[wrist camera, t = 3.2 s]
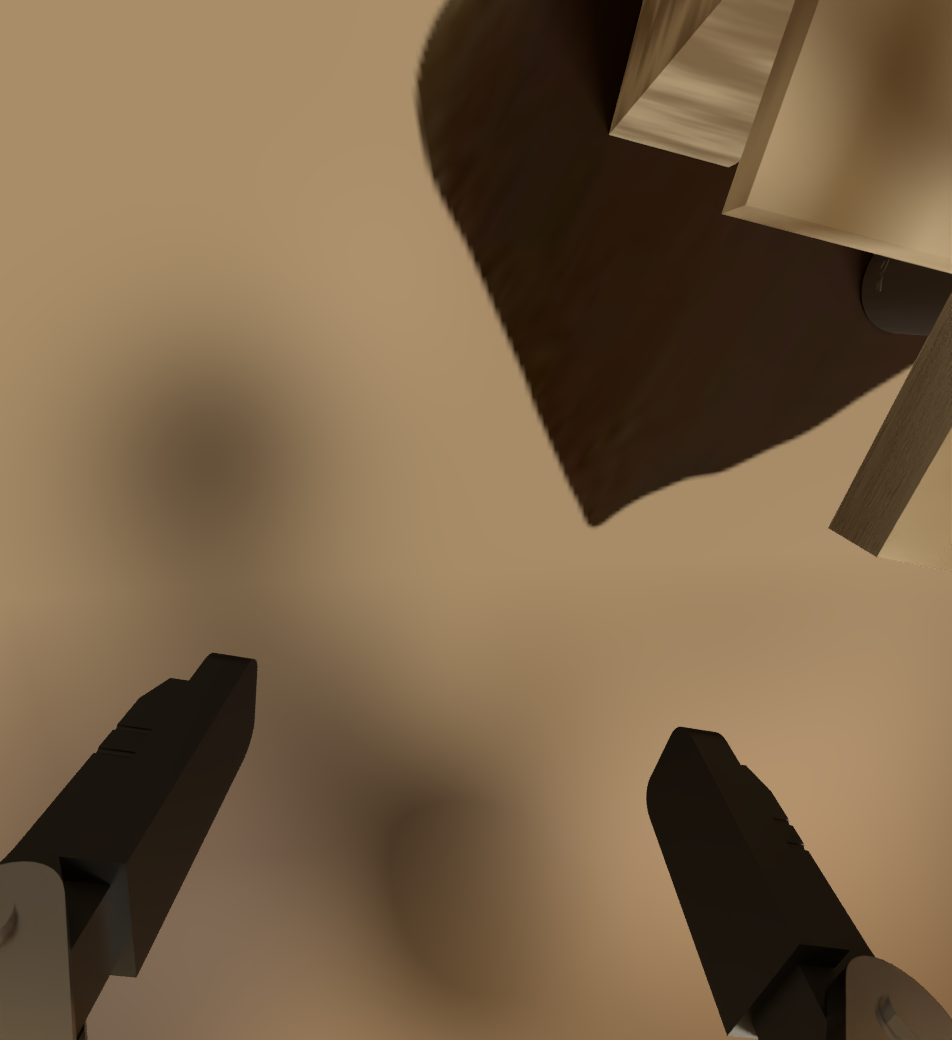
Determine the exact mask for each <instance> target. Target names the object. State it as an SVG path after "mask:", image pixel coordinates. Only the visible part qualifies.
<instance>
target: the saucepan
mask: <svg viewBox="0 0 952 1040" xmlns="http://www.w3.org/2000/svg"><path fill="white" fill-rule="evenodd" d="M829 529H831V530H832V531H834V532H836V533H837V534H839V535H841V536H843V537H844V538H846V539H847V540H849V541H851V542H852V543H854V544H856V545H857V546H859V547H861V548H862V549H864V550H866V551H867V552H869V553H871V554H872V555H874V556H876V557H878V558H884V559H889V560H894V561H900V562H905V563H910V564H915V565H920V566H925V567H931V568H936V569H941V570H946V571H951V572H952V292H951V294H950V296H949V298H948V300H947V302H946V304H945V306H944V308H943V310H942V311H941V313H940V315H939V317H938V319H937V321H936V323H935V325H934V327H933V329H932V331H931V332H930V334H929V336H928V338H927V340H926V342H925V344H924V346H923V348H922V350H921V352H920V353H919V355H918V357H917V359H916V361H915V363H914V365H913V367H912V369H911V371H910V373H909V375H908V377H907V378H906V380H905V382H904V384H903V386H902V388H901V390H900V392H899V394H898V396H897V398H896V399H895V401H894V403H893V405H892V407H891V409H890V411H889V413H888V415H887V417H886V419H885V420H884V422H883V424H882V426H881V428H880V430H879V432H878V434H877V436H876V438H875V440H874V441H873V443H872V445H871V447H870V449H869V451H868V453H867V455H866V457H865V459H864V461H863V462H862V465H861V466H860V468H859V470H858V472H857V474H856V476H855V478H854V480H853V481H852V483H851V485H850V488H849V489H848V491H847V493H846V495H845V497H844V499H843V501H842V502H841V505H840V507H839V508H838V510H837V512H836V514H835V516H834V518H833V520H832V522H831V523H830V526H829Z"/></svg>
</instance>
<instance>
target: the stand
mask: <svg viewBox="0 0 952 1040" xmlns="http://www.w3.org/2000/svg"><path fill="white" fill-rule="evenodd" d="M609 135H612V136H616V137H619V138H623V139H627V140H630V141H634V142H638V143H641V144H645V145H649V146H652V147H656V148H660V149H664V150H667V151H671V152H675V153H678V154H682V155H686V156H689V157H693V158H697V159H700V160H704V161H708V162H711V163H715V164H719V165H723V166H726V167H730V166H732V165H734V164H736V163H738V162H739V161H740V162H739V165H738V168H737V171H736V174H735V177H734V180H733V183H732V185H731V188H730V191H729V194H728V197H727V200H726V203H725V206H724V209H723V212H722V214H725V215H728V216H732V217H736V218H740V219H744V220H748V221H751V222H755V223H759V224H763V225H767V226H771V227H774V228H778V229H782V230H786V231H790V232H794V233H797V234H801V235H805V236H809V237H813V238H817V239H820V240H824V241H828V242H832V243H836V244H840V245H843V246H847V247H851V248H855V249H859V250H863V251H866V252H870V253H874V254H878V255H882V256H886V257H889V258H893V259H897V260H901V261H905V262H909V263H912V264H916V265H920V266H924V267H928V268H932V269H935V270H939V271H943V272H947V273H951V274H952V0H643V4H642V8H641V12H640V15H639V19H638V23H637V27H636V31H635V35H634V39H633V43H632V47H631V51H630V55H629V58H628V62H627V66H626V70H625V74H624V78H623V82H622V86H621V90H620V94H619V98H618V101H617V105H616V109H615V113H614V117H613V121H612V125H611V129H610V133H609Z"/></svg>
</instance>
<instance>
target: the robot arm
mask: <svg viewBox="0 0 952 1040" xmlns="http://www.w3.org/2000/svg"><path fill="white" fill-rule="evenodd" d="M951 292H952V274H951V273H947V272H943V271H939V270H935V269H932V268H928V267H924V266H920V265H916V264H912V263H909V262H905V261H901V260H897V259H893V258H889V257H886V256H882V255H878V254H874V255H873V257H872V258H871V260H870V262H869V264H868V266H867V269H866V272H865V275H864V278H863V284H862V303H863V307H864V311H865V313H866V315H867V316H868V318H869V320H870V321H871V322H872V323H873V324H874V325H875V326H876V327H878V328H880V329H882V330H883V331H886V332H891V333H896V334H914V335H929V334H930V332H931V331H932V329H933V327H934V325H935V323H936V321H937V319H938V317H939V315H940V313H941V311H942V310H943V308H944V306H945V304H946V302H947V300H948V298H949V296H950V294H951ZM256 684H257V661H256V660H255V659H251V658H244V657H238V656H231V655H225V654H218V653H211V654H209V655H208V656H207V657H206V659H205V660H204V661H203V663H202V664H201V665H200V667H199V668H198V669H197V671H196V672H195V673H194V675H193V676H192V677H191V679H190V680H189V681H187V680H180V679H174V678H170V679H168V680H167V681H165V682H163V683H162V684H160V685H159V686H157V687H156V688H154V689H153V690H151V691H150V692H148V693H146V694H145V695H143V696H142V697H140V698H139V699H138V700H137V702H136V703H135V704H134V705H133V707H132V708H131V709H130V710H129V711H128V712H127V714H126V715H125V716H124V717H123V718H122V720H121V721H120V722H119V723H118V724H117V728H116V730H112V732H111V733H110V734H109V735H108V736H107V738H106V739H105V740H104V741H103V742H102V744H101V745H100V746H99V748H98V751H97V752H96V753H93V754H92V755H91V757H90V758H89V759H88V760H87V762H86V763H85V764H84V765H83V766H82V767H81V769H80V770H79V771H78V772H77V773H76V775H75V776H74V777H73V778H72V779H71V781H70V782H69V783H68V784H67V785H66V787H65V788H64V789H63V790H62V791H61V793H60V794H59V795H58V796H57V797H56V799H55V800H54V801H53V802H52V803H51V805H50V806H49V807H48V808H47V809H46V811H45V812H44V813H43V814H42V815H41V817H40V818H39V819H38V820H37V821H36V823H35V824H34V825H33V826H32V827H31V829H30V830H29V831H28V832H27V833H26V835H25V836H24V837H23V838H22V840H21V841H20V842H19V843H18V844H17V845H16V846H15V848H14V849H13V850H12V851H11V852H10V853H9V854H8V855H7V856H6V857H5V858H4V859H3V860H2V861H1V862H0V1040H88V1036H87V1022H86V1019H87V1017H88V1015H89V1013H90V1011H91V1009H92V1007H93V1005H94V1004H95V1002H96V1000H97V998H98V996H99V994H100V993H101V990H102V989H103V987H104V985H105V983H106V981H107V979H108V978H109V975H115V976H127V977H137V975H138V973H139V971H140V969H141V967H142V965H143V963H144V961H145V958H146V957H147V955H148V953H149V951H150V949H151V947H152V945H153V943H154V940H155V938H156V937H157V934H158V933H159V930H160V928H161V926H162V924H163V922H164V920H165V918H166V916H167V914H168V912H169V910H170V908H171V906H172V904H173V902H174V900H175V898H176V896H177V894H178V892H179V890H180V888H181V886H182V884H183V882H184V880H185V878H186V876H187V874H188V872H189V870H190V868H191V865H192V863H193V861H194V859H195V857H196V855H197V853H198V851H199V849H200V847H201V845H202V843H203V841H204V839H205V837H206V835H207V833H208V831H209V829H210V827H211V825H212V823H213V821H214V819H215V817H216V815H217V813H218V811H219V808H220V807H221V804H222V803H223V800H224V798H225V796H226V794H227V792H228V790H229V788H230V786H231V784H232V782H233V780H234V778H235V776H236V774H237V772H238V770H239V768H240V766H241V764H242V762H243V760H244V757H245V755H246V753H247V750H248V747H249V744H250V741H251V737H252V733H253V729H254V721H255V704H256ZM646 800H647V809H648V814H649V817H650V820H651V823H652V826H653V828H654V831H655V834H656V837H657V839H658V843H659V845H660V848H661V851H662V854H663V856H664V859H665V862H666V865H667V868H668V871H669V873H670V876H671V879H672V882H673V884H674V887H675V890H676V893H677V896H678V899H679V901H680V904H681V907H682V910H683V912H684V915H685V918H686V921H687V924H688V927H689V929H690V932H691V935H692V938H693V941H694V943H695V946H696V949H697V952H698V955H699V958H700V960H701V963H702V966H703V969H704V971H705V975H706V977H707V980H708V983H709V986H710V989H711V991H712V994H713V997H714V1000H715V1003H716V1005H717V1008H718V1010H719V1014H720V1017H721V1019H722V1022H723V1025H724V1028H725V1031H726V1033H727V1036H734V1037H744V1038H756V1039H758V1040H952V1019H951V1017H950V1016H949V1015H948V1014H947V1012H946V1011H945V1010H944V1008H943V1007H942V1006H941V1005H940V1004H939V1003H938V1002H937V1001H936V999H935V998H934V997H933V996H932V995H931V994H930V993H929V992H928V991H927V990H926V989H925V988H924V987H922V986H921V985H920V984H919V983H918V982H917V981H915V980H914V979H913V978H912V977H910V976H909V975H908V974H906V973H905V972H903V971H902V970H901V969H899V968H897V967H896V966H894V965H892V964H890V963H888V962H886V961H884V960H882V959H879V958H876V957H875V956H874V955H873V953H872V952H871V950H870V949H869V947H868V946H867V944H866V943H865V941H864V939H863V938H862V936H861V935H860V933H859V931H858V930H857V928H856V926H855V925H854V923H853V922H852V920H851V918H850V917H849V915H848V914H847V912H846V910H845V909H844V907H843V906H842V904H841V902H840V901H839V899H838V898H837V896H836V894H835V893H834V891H833V890H832V888H831V886H830V885H829V884H828V882H827V880H826V878H825V877H824V875H823V874H822V872H821V870H820V869H819V867H818V866H817V864H816V863H815V861H814V859H813V858H812V856H811V854H810V853H809V851H806V850H804V843H803V842H802V840H801V838H800V837H799V835H798V834H797V832H796V830H795V829H794V827H793V826H791V825H789V822H788V821H789V819H788V818H787V816H786V814H785V813H784V811H783V810H782V808H781V806H780V805H779V803H778V802H777V800H776V798H775V797H774V795H773V794H772V792H771V791H770V790H769V789H768V788H767V787H766V786H765V785H764V784H763V783H762V782H761V781H760V780H759V779H758V777H756V775H755V774H754V773H753V772H752V771H751V770H750V769H749V768H747V766H745V765H740V763H739V761H738V760H737V758H736V756H735V755H734V753H733V751H732V750H731V748H730V746H729V745H728V743H727V741H726V740H725V738H724V737H723V736H722V735H721V734H719V733H716V732H711V731H705V730H698V729H692V728H685V727H678V728H676V729H675V730H674V731H673V732H672V734H671V736H670V738H669V740H668V742H667V744H666V746H665V748H664V750H663V752H662V754H661V757H660V759H659V761H658V763H657V765H656V767H655V769H654V771H653V773H652V775H651V777H650V780H649V782H648V786H647V797H646Z"/></svg>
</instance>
